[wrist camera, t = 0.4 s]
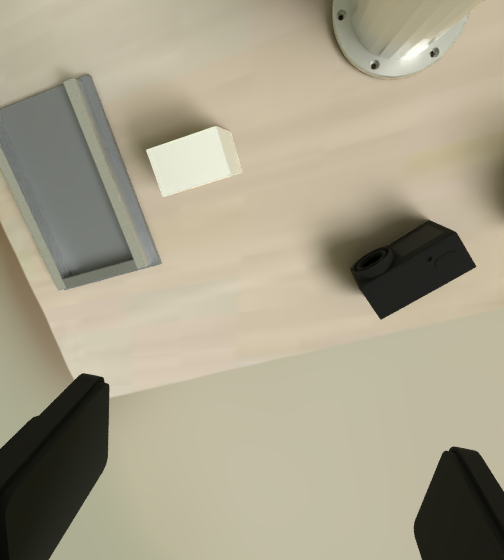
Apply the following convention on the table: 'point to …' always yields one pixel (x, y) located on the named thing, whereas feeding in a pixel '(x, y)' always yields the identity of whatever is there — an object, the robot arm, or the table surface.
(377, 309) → the digital camera
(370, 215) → the table surface
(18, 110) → the plate
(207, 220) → the table surface
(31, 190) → the rail guides
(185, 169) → the block
